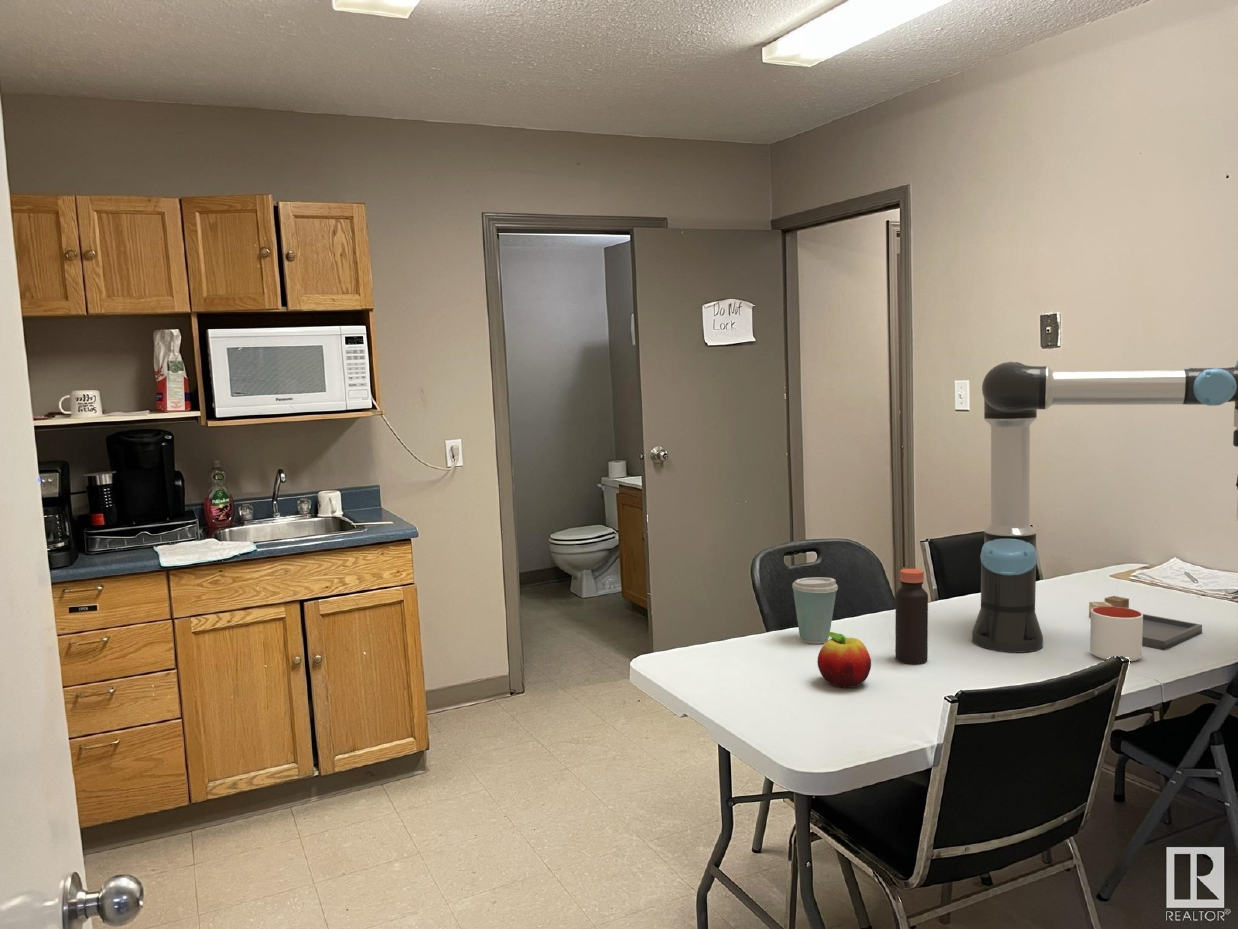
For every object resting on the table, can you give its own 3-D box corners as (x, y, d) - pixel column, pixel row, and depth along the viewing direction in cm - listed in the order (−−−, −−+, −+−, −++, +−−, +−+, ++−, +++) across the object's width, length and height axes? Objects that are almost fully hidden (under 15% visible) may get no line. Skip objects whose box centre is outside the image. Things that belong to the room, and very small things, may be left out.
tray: (1163, 650, 206) (1164, 641, 205) (1091, 635, 218) (1091, 626, 218) (1201, 633, 218) (1202, 624, 217) (1131, 619, 230) (1131, 611, 230)
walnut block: (1119, 616, 234) (1119, 601, 233) (1104, 613, 237) (1104, 598, 237) (1128, 614, 236) (1129, 598, 235) (1113, 611, 239) (1113, 595, 239)
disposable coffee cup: (783, 641, 220) (783, 579, 218) (807, 631, 228) (807, 571, 226) (822, 649, 213) (822, 585, 211) (846, 639, 220) (846, 577, 219)
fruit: (838, 695, 183) (838, 646, 182) (806, 679, 193) (806, 633, 192) (882, 687, 187) (882, 639, 186) (848, 671, 197) (848, 626, 196)
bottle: (888, 658, 205) (889, 569, 203) (913, 653, 208) (913, 566, 206) (909, 666, 199) (910, 575, 197) (934, 662, 202) (935, 572, 200)
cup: (1148, 664, 196) (1150, 618, 195) (1097, 663, 198) (1098, 617, 197) (1132, 650, 206) (1133, 606, 205) (1084, 649, 208) (1085, 605, 207)
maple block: (1095, 621, 230) (1096, 606, 229) (1088, 617, 234) (1089, 601, 233) (1112, 621, 229) (1113, 605, 229) (1105, 617, 233) (1105, 601, 233)
